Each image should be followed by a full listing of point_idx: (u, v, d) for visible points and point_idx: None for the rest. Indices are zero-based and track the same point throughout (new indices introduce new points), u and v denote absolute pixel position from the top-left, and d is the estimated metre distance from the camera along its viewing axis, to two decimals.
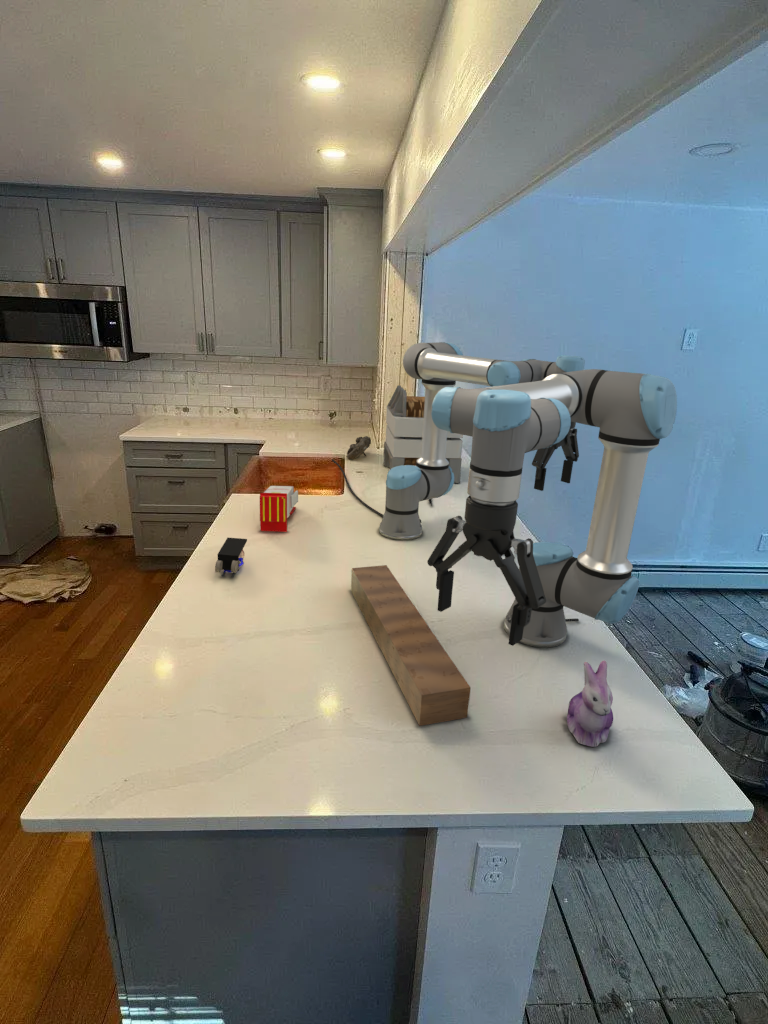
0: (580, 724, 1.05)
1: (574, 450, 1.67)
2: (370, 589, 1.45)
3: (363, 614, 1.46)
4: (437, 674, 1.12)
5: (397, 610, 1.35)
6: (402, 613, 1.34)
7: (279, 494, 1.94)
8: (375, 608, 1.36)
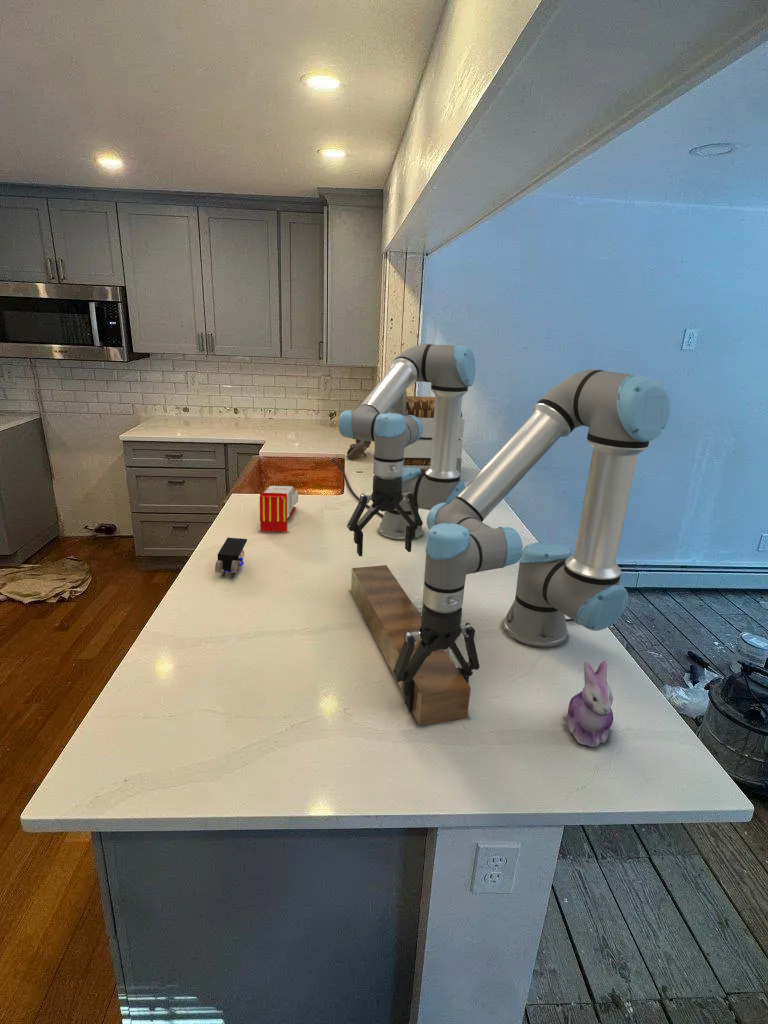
0: (580, 724, 1.05)
1: (415, 517, 1.50)
2: (370, 589, 1.45)
3: (363, 614, 1.46)
4: (437, 674, 1.12)
5: (397, 610, 1.35)
6: (402, 613, 1.34)
7: (279, 494, 1.94)
8: (375, 608, 1.36)
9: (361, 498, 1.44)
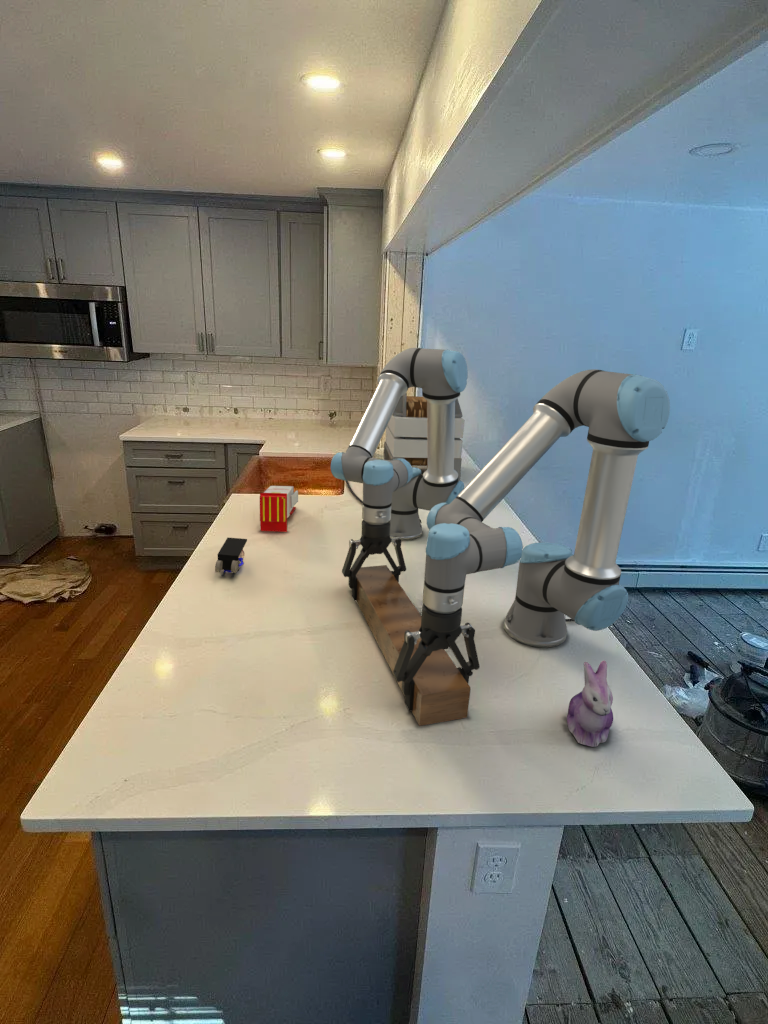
0: (580, 724, 1.05)
1: (399, 562, 1.53)
2: (370, 589, 1.45)
3: (363, 614, 1.46)
4: (437, 674, 1.12)
5: (397, 610, 1.35)
6: (402, 613, 1.34)
7: (279, 494, 1.94)
8: (375, 608, 1.36)
9: (350, 544, 1.47)
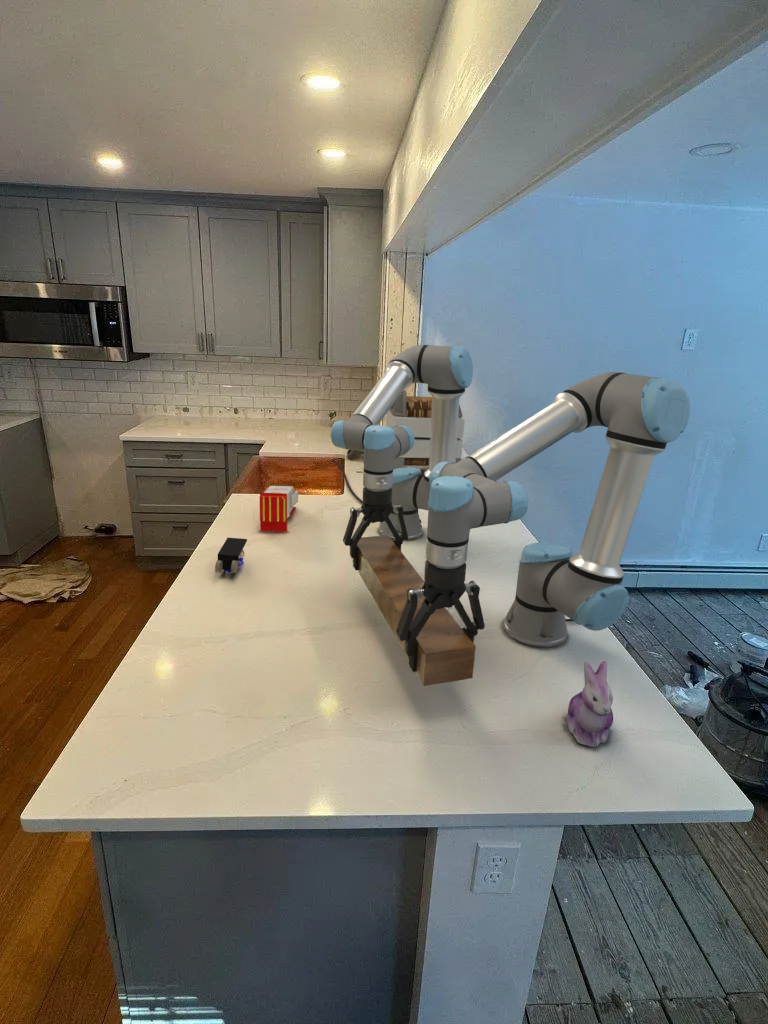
0: (580, 724, 1.05)
1: (401, 530, 1.50)
2: (372, 557, 1.42)
3: (365, 583, 1.43)
4: (441, 635, 1.09)
5: (399, 576, 1.32)
6: (404, 578, 1.31)
7: (279, 494, 1.94)
8: (377, 574, 1.33)
9: (351, 512, 1.44)
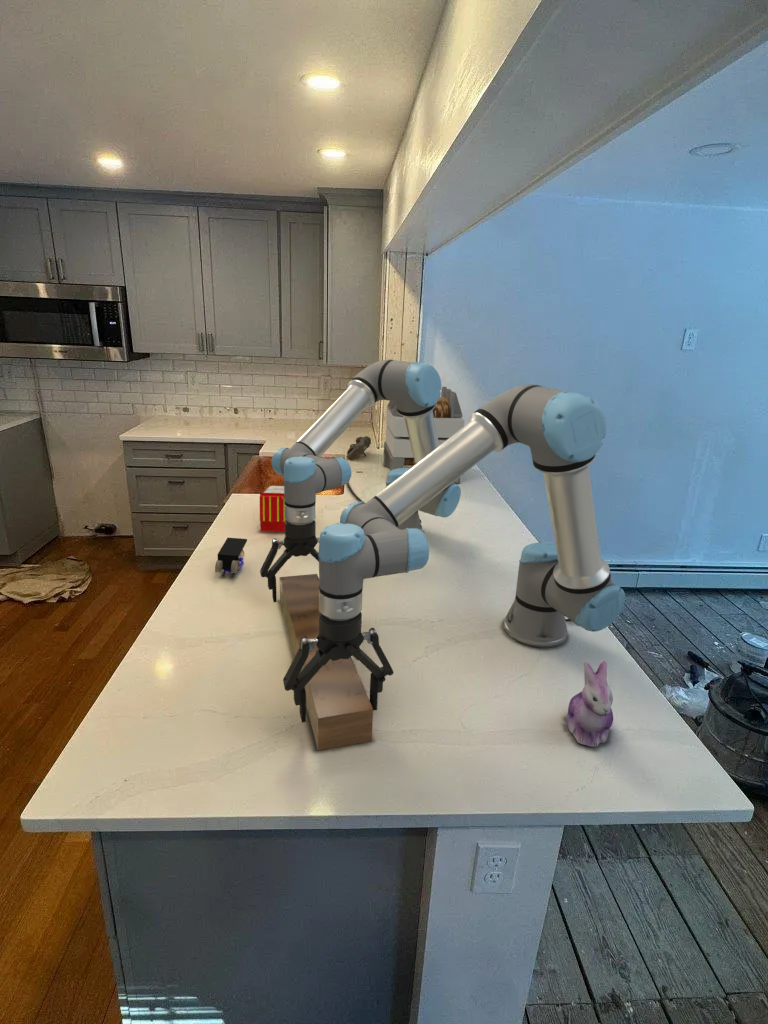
0: (580, 724, 1.05)
1: None
2: (293, 600, 1.37)
3: (286, 626, 1.39)
4: (341, 695, 1.05)
5: (316, 623, 1.28)
6: None
7: (279, 494, 1.94)
8: (293, 621, 1.28)
9: (272, 544, 1.39)
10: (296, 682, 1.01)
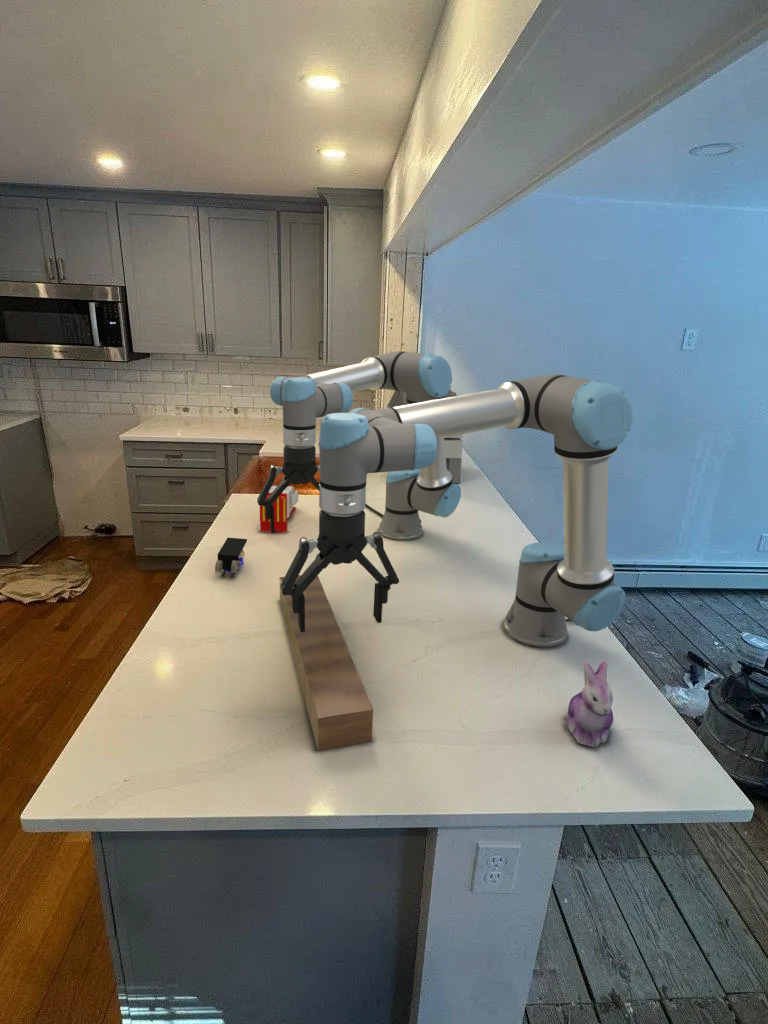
0: (580, 724, 1.05)
1: None
2: None
3: (286, 626, 1.39)
4: (341, 695, 1.05)
5: (316, 623, 1.28)
6: (320, 626, 1.27)
7: None
8: (293, 621, 1.28)
9: (270, 470, 1.33)
10: (294, 587, 0.95)
